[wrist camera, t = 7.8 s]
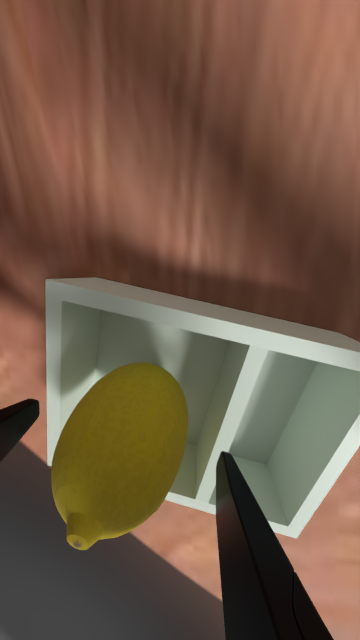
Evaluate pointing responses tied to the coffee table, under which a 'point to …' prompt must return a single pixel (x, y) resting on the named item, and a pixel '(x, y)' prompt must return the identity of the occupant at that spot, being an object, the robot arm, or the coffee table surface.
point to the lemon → (119, 453)
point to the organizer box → (217, 388)
